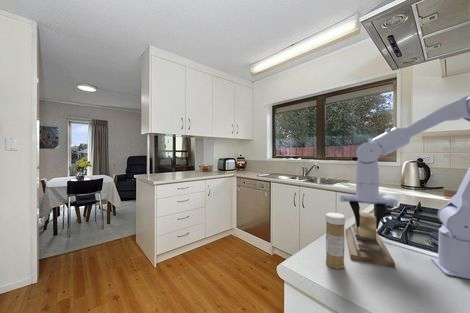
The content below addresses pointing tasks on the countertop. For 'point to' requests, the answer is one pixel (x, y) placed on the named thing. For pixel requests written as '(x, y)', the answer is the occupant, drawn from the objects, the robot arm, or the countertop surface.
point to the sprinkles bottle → (335, 240)
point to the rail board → (367, 248)
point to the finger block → (367, 225)
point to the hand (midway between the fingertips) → (366, 226)
